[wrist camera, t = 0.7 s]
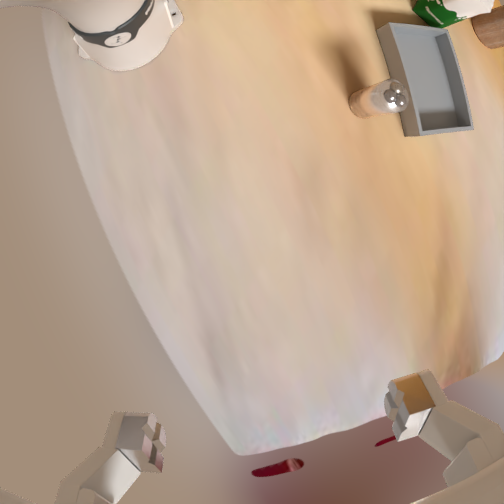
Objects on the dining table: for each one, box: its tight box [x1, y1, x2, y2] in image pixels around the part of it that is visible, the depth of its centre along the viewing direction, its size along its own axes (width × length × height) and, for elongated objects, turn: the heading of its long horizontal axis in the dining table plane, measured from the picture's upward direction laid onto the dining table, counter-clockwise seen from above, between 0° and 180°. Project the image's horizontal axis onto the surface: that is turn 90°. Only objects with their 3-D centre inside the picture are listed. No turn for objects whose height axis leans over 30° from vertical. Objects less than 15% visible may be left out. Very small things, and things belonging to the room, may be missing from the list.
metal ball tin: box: [349, 79, 409, 118], centre depth 42 cm, size 5×5×12 cm
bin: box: [376, 22, 474, 137], centre depth 45 cm, size 22×16×5 cm
